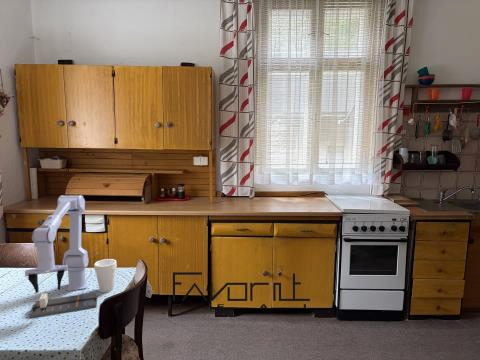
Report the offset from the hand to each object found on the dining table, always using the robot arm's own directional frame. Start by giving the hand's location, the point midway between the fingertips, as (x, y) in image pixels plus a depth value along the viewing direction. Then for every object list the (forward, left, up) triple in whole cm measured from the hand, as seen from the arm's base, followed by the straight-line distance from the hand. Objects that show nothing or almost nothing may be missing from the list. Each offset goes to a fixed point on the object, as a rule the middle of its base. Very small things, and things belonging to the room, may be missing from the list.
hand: (48, 290), depth 134 cm
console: (-5, +5, -10) cm, 12 cm away
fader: (-5, -3, -8) cm, 10 cm away
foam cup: (-15, +21, -10) cm, 28 cm away
